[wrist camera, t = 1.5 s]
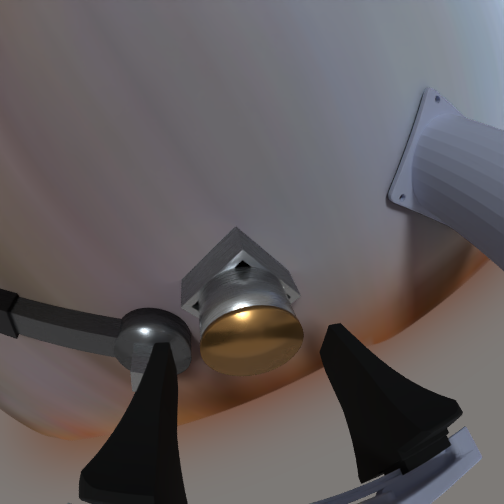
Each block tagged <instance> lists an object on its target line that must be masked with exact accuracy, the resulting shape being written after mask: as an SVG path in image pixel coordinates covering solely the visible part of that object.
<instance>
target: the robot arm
mask: <svg viewBox="0 0 504 504" xmlns="http://www.w3.org/2000/svg"><path fill="white" fill-rule="evenodd" d="M435 97H436V101H435ZM401 195H402V197H401V198H400V196H401ZM388 198H389V200H391V201H392V202H393V203H396V204H398V205H401V206H403V207H406V208H408V209H410V210H413V211H415V212H418V213H420V214H422V215H425V216H427V217H429V218H432V219H434V220H436V221H438V222H441V223H443V224H445V225H447V226H449V227H451V228H452V229H454V230H455V231H456V232H458V233H459V234H460V235H461V236H463V237H464V238H465V239H467V240H468V241H469V242H470V243H472V244H473V245H474V246H475V247H477V248H478V249H479V250H480V251H481V252H483V253H484V254H485V255H486V256H487V257H488V258H490V259H491V260H492V261H493V262H494V263H495V264H497V265H498V266H499V267H500V268H501V269H502V270H503V271H504V131H503V130H501V129H498V128H495V127H493V126H490V125H487V124H484V123H481V122H478V121H474V120H471V119H468V118H466V117H465V116H464V115H463V114H462V113H461V112H460V111H458V110H457V109H456V108H455V107H454V106H453V105H452V104H451V103H450V102H449V101H448V100H446V99H445V98H444V97H443V96H442V95H441V94H440V93H438V92H437V91H436V90H435V89H433V88H426V89H425V91H424V94H423V97H422V101H421V104H420V107H419V110H418V114H417V117H416V120H415V123H414V126H413V129H412V132H411V135H410V138H409V141H408V143H407V146H406V149H405V152H404V154H403V157H402V160H401V162H400V165H399V168H398V170H397V173H396V175H395V178H394V180H393V183H392V185H391V188H390V190H389V193H388ZM399 198H400V199H399ZM320 355H321V359H322V362H323V365H324V369H325V371H326V374H327V375H328V378H329V380H330V383H331V385H332V387H333V389H334V391H335V394H336V396H337V398H338V400H339V402H340V404H341V407H342V409H343V412H344V415H345V418H346V421H347V424H348V428H349V431H350V435H351V439H352V443H353V447H354V452H355V457H356V463H357V468H358V477H359V480H360V482H361V483H364V482H367V481H369V480H371V479H373V478H376V477H378V476H380V475H383V474H384V475H385V476H383V477H381V478H379V479H377V480H374V481H372V482H370V483H367V484H365V485H363V486H360V487H357V488H355V489H353V490H350V491H347V492H344V493H342V494H339V495H336V496H333V497H330V498H327V499H324V500H320V501H317V502H313V503H310V504H348V503H351V502H353V501H356V500H358V499H361V498H363V497H365V496H368V495H370V494H372V493H375V492H377V493H376V496H375V497H373V498H370V499H368V500H365V501H363V502H360V503H358V504H431V503H432V502H433V501H435V500H436V499H437V498H438V497H439V496H441V495H442V494H443V493H444V492H445V491H447V490H448V489H449V488H450V487H451V486H452V485H453V484H454V483H456V482H457V481H458V480H459V479H460V478H461V477H462V476H463V475H464V474H465V473H466V472H468V471H469V470H470V469H471V468H472V467H473V466H474V465H475V464H476V463H478V462H479V461H480V460H481V459H482V456H481V454H480V452H479V450H478V448H477V446H476V444H475V442H474V440H473V439H472V437H471V435H470V433H469V431H468V429H467V427H466V426H464V427H463V428H462V429H461V430H459V431H458V432H456V433H455V434H454V435H452V436H451V437H449V438H447V436H446V435H447V434H448V433H449V432H448V430H447V427H449V426H450V425H451V424H452V423H453V422H455V421H456V420H457V419H458V418H459V417H460V416H461V415H462V413H463V412H462V410H461V408H460V407H459V405H458V403H457V402H456V400H454V399H450V398H447V397H445V396H441V395H439V394H437V393H434V392H432V391H430V390H427V389H425V388H423V387H421V386H419V385H417V384H416V383H414V382H412V381H410V380H409V379H407V378H405V377H404V376H402V375H401V374H399V373H398V372H396V371H395V370H393V369H392V368H391V367H389V366H388V365H387V364H386V363H384V362H383V361H382V360H380V359H379V358H378V357H377V356H376V355H374V354H373V353H372V352H371V351H370V350H369V349H367V348H366V347H365V346H364V345H363V344H362V343H361V342H360V341H359V340H358V339H357V338H356V337H355V336H354V335H352V334H351V333H350V332H349V331H348V330H347V329H346V328H345V327H344V326H343V325H342V324H341V323H338V324H333V325H329V326H328V329H327V332H326V335H325V338H324V341H323V344H322V347H321V350H320ZM177 407H178V382H177V368H176V365H175V361H174V358H173V354H172V350H171V346H170V342H160V343H155V344H154V345H153V349H152V352H151V355H150V358H149V361H148V364H147V366H146V369H145V372H144V374H143V376H142V379H141V381H140V384H139V386H138V388H137V390H136V392H135V394H134V396H133V398H132V401H131V403H130V404H129V406H128V408H127V410H126V412H125V414H124V415H123V417H122V419H121V421H120V422H119V424H118V425H117V427H116V428H115V430H114V432H113V433H112V434H111V436H110V437H109V439H108V440H107V442H106V443H105V444H104V445H103V447H102V448H101V449H100V451H99V452H98V453H97V454H96V456H95V457H94V458H93V459H92V460H91V461H90V462H89V463H88V464H87V465H86V467H85V468H84V469H83V470H82V471H81V475H80V480H79V498H80V499H81V500H82V501H85V502H88V503H91V504H187V499H186V494H185V489H184V484H183V479H182V472H181V466H180V458H179V450H178V441H177ZM67 504H70V503H67Z"/></svg>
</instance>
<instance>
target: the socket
mask: <svg viewBox="0 0 504 504" xmlns="http://www.w3.org/2000/svg"><path fill="white" fill-rule="evenodd" d="M242 260H243V261H245V262H246V263H247V264H249V265H250V266H251V267H237V268H234V267H235V266H237V265H238V264H239V263H240V262H241V261H242ZM300 296H301V295H300V293H299V291H298V289H297V287H296V285H295V283H294V280H293V278H292V276H291V274H290V272H289V271H288V270H287V269H286V268H285V267H284V266H282V265H281V264H280V263H279V262H278V261H276V260H275V259H274V258H273V257H272V256H271V255H269V254H268V253H267V252H266V251H265V250H263V249H262V248H261V247H260V246H259V245H257V244H256V243H255V242H254V241H253V240H251V239H250V238H249V237H248V236H247V235H246V234H244V233H243V232H242V231H241V230H240V229H238V228H237V227H235V228H234V229H233V230H232V231H231V232H230V233H229V234H228V235H226V236H225V237H224V238H223V239H222V240H221V241H220V242H219V243H218V244H217V245H216V246H215V247H214V248H213V249H212V250H211V251H210V252H209V253H208V254H207V255H206V256H205V257H204V258H203V259H202V260H201V261H200V262H199V263H198V264H197V265H196V266H195V267H194V268H193V269H192V270H191V271H190V272H189V273H188V274H187V275H186V276H185V277H184V278H183V279H182V283H181V308H182V309H184V310H185V311H187V312H189V313H191V314H192V315H194V316H196V317H198V318H199V321H200V337H201V339H200V353H201V356H202V359H203V360H204V362H205V363H206V364H207V365H208V366H209V367H210V368H212V369H213V370H215V371H217V372H220V373H223V374H227V375H232V376H251V375H257V374H262V373H265V372H268V371H271V370H273V369H276V368H278V367H280V366H281V365H283V364H285V363H286V362H287V361H289V360H290V359H291V358H292V357H293V356H294V355H295V354H296V353H297V352H298V350H299V349H300V347H301V345H302V342H303V337H304V334H303V329H302V326H301V324H300V322H299V320H298V319H297V317H296V315H295V313H294V310H293V308H292V306H291V304H292V303H293V302H294V301H296V300H297V299H298V298H299V297H300Z"/></svg>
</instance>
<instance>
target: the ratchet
mask: <svg viewBox="0 0 504 504" xmlns="http://www.w3.org/2000/svg"><path fill="white" fill-rule="evenodd" d="M0 333H2V334H4V335H7V336H10V337H13V338H16V339H17V338H18V335H19V334H21V335H24V336H27V337H31V338H34V339H37V340H41V341H45V342H48V343H52V344H56V345H60V346H64V347H68V348H72V349H76V350H81V351H86V352H90V353H95V354H100V355H106V356H111V357H116V358H117V359H118V361H119V362H120V363H121V364H122V365H123V366H124V367H125V368H127V369H128V370H130V373H131V383H132V391H134V392H136V390H137V388H138V386H139V384H140V381H141V379H142V376H143V374H144V372H145V369H146V366H147V364H148V361H149V358H150V355H151V352H152V349H153V345H154V344H155V343H160V342H170V346H171V350H172V354H173V358H174V361H175V365H176V368H177V375H178V374H180V373H182V372H183V371H185V370H186V369H187V368H188V367H189V365H190V362H191V339H190V331H189V328H188V326H187V325H186V323H185V322H184V321H183V320H182V319H180V318H179V317H178V316H176V315H174V314H172V313H170V312H168V311H165V310H161V309H156V308H141V309H136V310H133V311H131V312H129V313H127V314H126V315H125V316H124V317H123V318H122V319H117V318H111V317H106V316H100V315H95V314H90V313H85V312H80V311H75V310H70V309H66V308H61V307H57V306H53V305H48V304H44V303H40V302H36V301H32V300H29V299H25V298H21V297H18V295H17V293H13V292H10V291H6V290H3V289H0Z"/></svg>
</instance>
